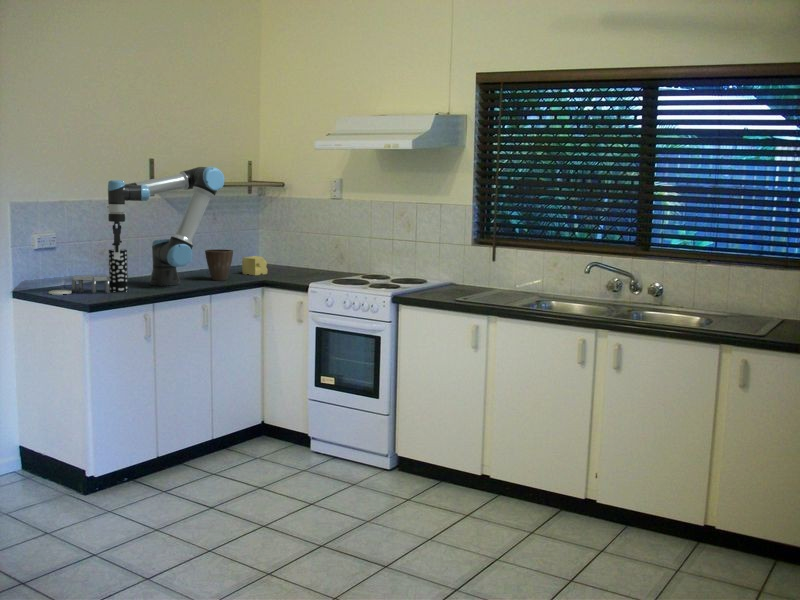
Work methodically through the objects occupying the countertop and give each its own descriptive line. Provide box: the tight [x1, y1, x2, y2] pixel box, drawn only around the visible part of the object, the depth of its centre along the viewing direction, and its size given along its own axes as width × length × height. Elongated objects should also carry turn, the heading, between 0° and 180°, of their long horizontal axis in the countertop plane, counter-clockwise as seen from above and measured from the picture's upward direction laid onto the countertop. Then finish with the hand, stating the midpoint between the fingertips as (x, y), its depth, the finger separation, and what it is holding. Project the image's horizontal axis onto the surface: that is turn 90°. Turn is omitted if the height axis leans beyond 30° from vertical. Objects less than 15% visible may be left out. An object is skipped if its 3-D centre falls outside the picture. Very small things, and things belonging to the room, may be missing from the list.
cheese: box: [241, 255, 268, 276], centre depth 479 cm, size 10×11×10 cm
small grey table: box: [71, 275, 111, 294], centre depth 393 cm, size 17×6×8 cm, turn 107°
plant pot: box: [204, 248, 234, 282], centre depth 450 cm, size 15×15×16 cm
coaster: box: [48, 289, 72, 296], centre depth 390 cm, size 10×10×1 cm
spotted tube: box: [108, 248, 129, 293], centre depth 399 cm, size 8×8×20 cm
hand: (117, 257), depth 398 cm, fingers open, 13 cm apart
